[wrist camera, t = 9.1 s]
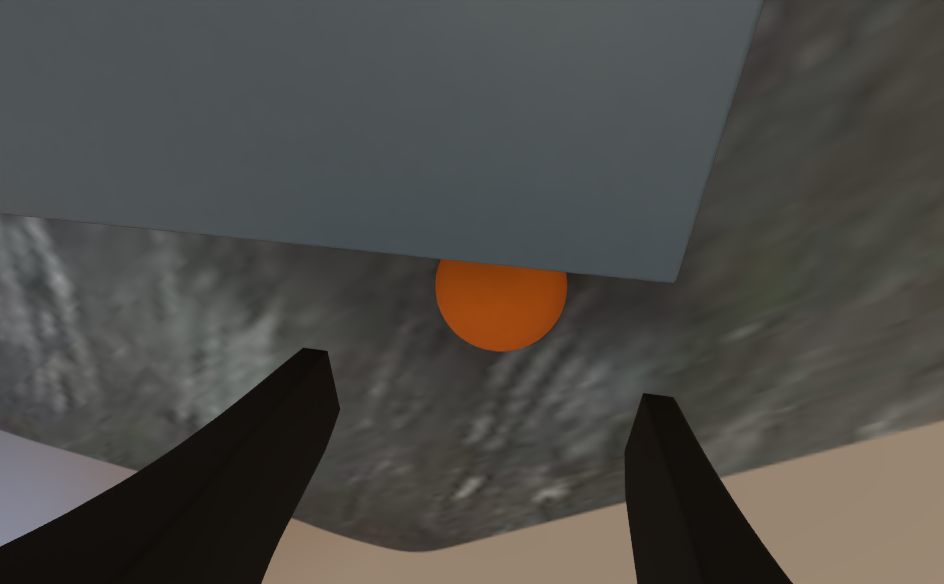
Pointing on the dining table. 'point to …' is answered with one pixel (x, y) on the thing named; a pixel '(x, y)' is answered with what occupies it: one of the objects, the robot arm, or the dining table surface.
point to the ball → (499, 303)
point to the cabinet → (378, 122)
